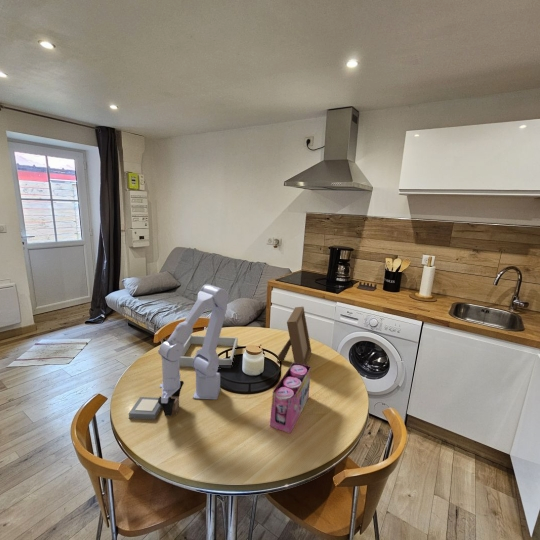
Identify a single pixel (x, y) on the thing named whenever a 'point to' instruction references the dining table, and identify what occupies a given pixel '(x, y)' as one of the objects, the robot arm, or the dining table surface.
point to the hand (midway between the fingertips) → (171, 407)
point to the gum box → (290, 397)
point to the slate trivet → (145, 408)
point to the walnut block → (175, 405)
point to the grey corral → (200, 340)
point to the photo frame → (297, 338)
